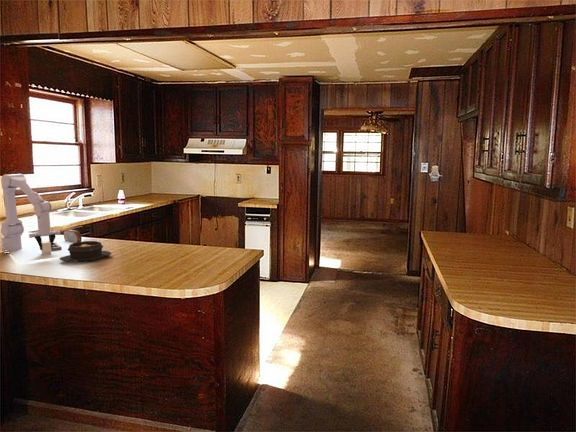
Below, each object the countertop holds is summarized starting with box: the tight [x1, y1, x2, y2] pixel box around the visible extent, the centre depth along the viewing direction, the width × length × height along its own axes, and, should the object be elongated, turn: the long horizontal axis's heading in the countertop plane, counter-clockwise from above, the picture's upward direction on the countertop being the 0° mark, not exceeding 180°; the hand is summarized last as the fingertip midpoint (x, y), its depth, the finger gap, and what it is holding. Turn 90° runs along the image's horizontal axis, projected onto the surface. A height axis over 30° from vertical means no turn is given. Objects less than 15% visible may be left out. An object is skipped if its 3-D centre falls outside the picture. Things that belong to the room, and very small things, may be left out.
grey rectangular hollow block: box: [51, 241, 63, 252], centre depth 246 cm, size 7×15×4 cm, turn 39°
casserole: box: [59, 240, 112, 263], centre depth 227 cm, size 25×19×8 cm
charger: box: [40, 240, 52, 256], centre depth 233 cm, size 4×5×7 cm
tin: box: [63, 228, 82, 243], centre depth 265 cm, size 15×3×8 cm, turn 58°
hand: (46, 249), depth 233 cm, fingers closed on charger, 4 cm apart
